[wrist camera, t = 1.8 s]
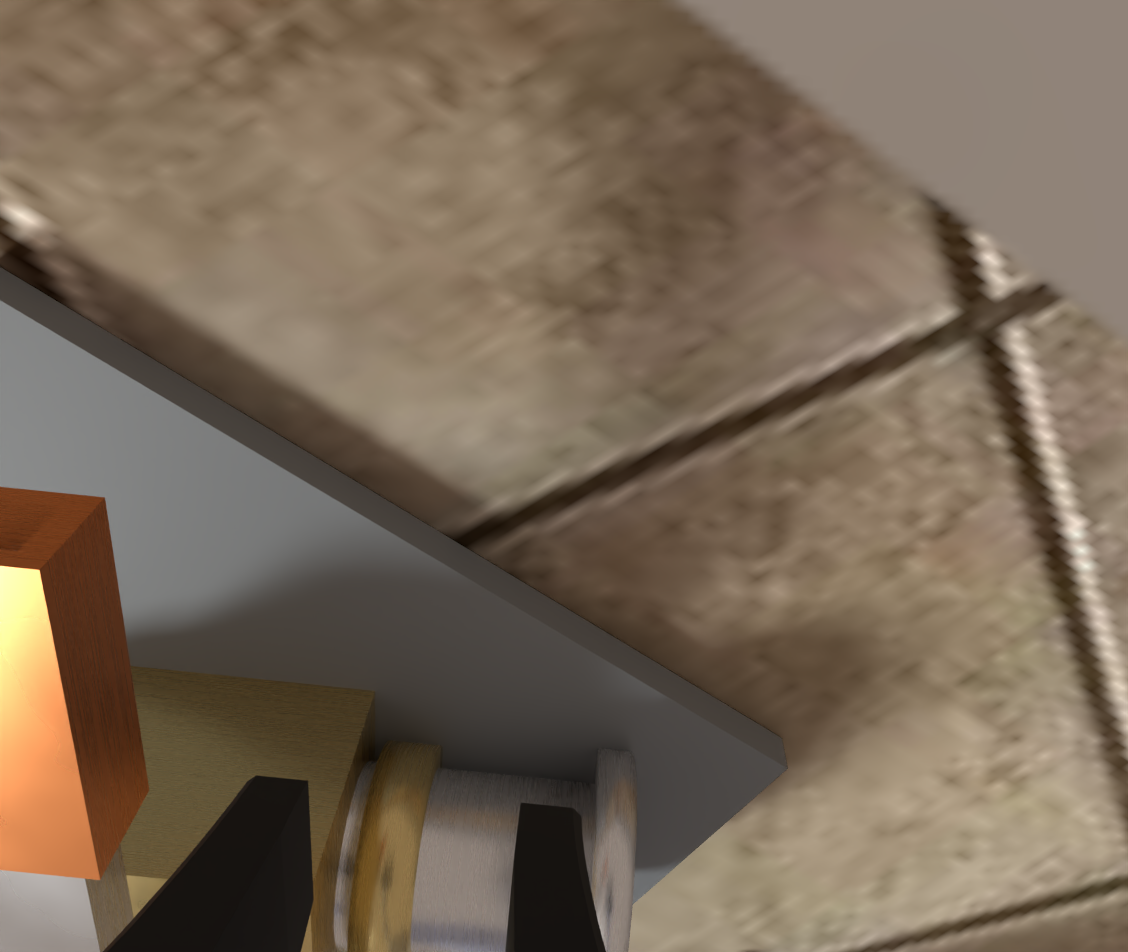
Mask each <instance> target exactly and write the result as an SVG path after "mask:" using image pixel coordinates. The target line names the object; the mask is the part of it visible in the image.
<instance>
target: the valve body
mask: <svg viewBox="0 0 1128 952" xmlns="http://www.w3.org/2000/svg"><path fill="white" fill-rule="evenodd" d="M131 672H132V679H133V685H134V692H135V699H136V705H137V712H138V718H139V725H140V731H141V738H142V745H143V751H144V758H145V764H146V771H147V778H148V784H149V792H148V794H147V795H146V797H145V799H144V801H143V803H142V805H141V806H140V808H139V810H138V812H137V814H136V816H135V817H134V819H133V821H132V823H131V825H130V826H129V828H128V830H127V832H126V834H125V836H124V837H123V839H122V841H121V849H122V854H123V860H124V866H125V871H126V877H127V882H128V888H129V894H130V899H131V905H132V911H133V916H134V917H135V916H136V915H137V914H138V913H139V911H140V910H141V909H142V908H143V907H144V906H145V905H146V904H147V902H148V901H149V900H150V899H151V898H152V897H153V896H154V895H155V893H156V892H157V891H158V890H159V889H160V888H161V887H162V886H163V885H164V883H165V882H166V881H167V880H168V879H169V878H170V877H171V875H172V874H173V873H174V872H175V871H176V870H177V868H178V867H179V866H180V865H181V864H182V862H183V861H184V860H185V859H186V858H187V857H188V855H189V854H190V853H191V852H192V851H193V849H194V848H195V847H196V846H197V845H198V843H199V842H200V841H201V840H202V838H203V837H204V836H205V835H206V834H207V832H208V831H209V830H210V829H211V827H212V826H213V825H214V824H215V822H216V821H217V820H218V819H219V817H220V816H221V815H222V814H223V812H224V811H225V810H226V808H227V807H228V806H229V805H230V803H231V802H232V801H233V799H234V798H235V797H236V796H237V794H238V793H239V792H240V790H241V789H242V788H243V786H244V785H245V784H246V782H247V781H249V780H250V779H252V778H253V777H255V776H256V775H258V776H267V777H277V778H287V779H297V780H306V781H308V788H309V810H310V831H311V852H312V874H313V895H314V900H313V904H312V909H311V913H310V917H309V921H308V925H307V929H306V933H305V937H304V941H303V945H302V949H301V952H505V948H506V937H507V926H508V916H509V905H510V894H511V883H512V873H513V862H514V853H515V844H516V836H517V828H518V820H519V812H520V804H521V803H531V804H540V805H550V806H560V807H569V808H574V809H575V810H576V811H577V812H578V813H579V814H580V815H581V818H582V836H583V844H584V853H585V859H586V866H587V871H588V877H589V882H590V887H591V892H592V896H593V901H594V905H595V910H596V915H597V919H598V923H599V927H600V931H601V935H602V939H603V942H604V946H605V949H606V952H628V947H629V937H630V927H631V916H632V904H633V891H634V876H635V858H636V834H637V776H636V763H635V757H634V754H633V752H631V751H622V750H612V749H602V748H597V754H596V761H595V768H594V775H593V782H592V784H591V783H582V782H572V781H562V780H552V779H543V778H533V777H523V776H513V775H504V774H494V773H484V772H474V771H465V770H455V769H445V768H442V756H443V746H442V745H432V744H422V743H412V742H403V741H393V740H389V741H387V742H386V744H385V745H384V747H383V749H382V751H381V753H380V756H379V758H378V761H375V691H371V690H362V689H352V688H342V687H332V686H323V685H313V684H303V683H293V682H283V681H274V680H264V679H254V678H244V677H235V676H225V675H215V674H205V673H196V672H186V671H176V670H166V669H157V668H147V667H137V666H131Z"/></svg>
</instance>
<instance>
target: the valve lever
mask: <svg viewBox="0 0 1128 952" xmlns="http://www.w3.org/2000/svg"><path fill="white" fill-rule="evenodd" d="M148 792H149V784H148V778H147V771H146V764H145V758H144V751H143V745H142V738H141V731H140V725H139V718H138V712H137V705H136V699H135V692H134V685H133V679H132V672H131V666H130V659H129V652H128V646H127V639H126V633H125V626H124V619H123V613H122V606H121V600H120V593H119V587H118V580H117V573H116V567H115V560H114V554H113V547H112V540H111V534H110V527H109V521H108V514H107V507H106V501H105V497H96V496H87V495H77V494H67V493H57V492H47V491H38V490H28V489H18V488H8V487H0V952H103V951H104V949H105V948H106V947H107V946H108V945H109V944H110V943H111V942H112V941H113V940H114V939H115V938H116V937H117V936H118V935H119V934H120V933H121V932H122V930H123V929H124V928H125V927H126V926H127V925H128V924H129V923H130V922H131V920H132V919H133V918H134V916H133V911H132V905H131V899H130V894H129V888H128V882H127V877H126V871H125V866H124V860H123V854H122V849H121V841H122V839H123V837H124V836H125V834H126V832H127V830H128V828H129V826H130V825H131V823H132V821H133V819H134V817H135V816H136V814H137V812H138V810H139V808H140V806H141V805H142V803H143V801H144V799H145V797H146V795H147V794H148Z"/></svg>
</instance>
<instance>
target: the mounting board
mask: <svg viewBox="0 0 1128 952" xmlns="http://www.w3.org/2000/svg"><path fill="white" fill-rule="evenodd" d="M0 487H8V488H18V489H28V490H38V491H47V492H57V493H67V494H77V495H87V496H96V497H105V501H106V507H107V514H108V521H109V527H110V534H111V540H112V547H113V554H114V560H115V567H116V573H117V580H118V587H119V593H120V600H121V606H122V613H123V619H124V626H125V633H126V639H127V646H128V652H129V659H130V666H137V667H147V668H157V669H166V670H176V671H186V672H196V673H205V674H215V675H225V676H235V677H244V678H254V679H264V680H274V681H283V682H293V683H303V684H313V685H323V686H332V687H342V688H352V689H362V690H371V691H375V761H378V758H379V756H380V753H381V751H382V749H383V747H384V745H385V744H386V742H387V741H389V740H393V741H403V742H412V743H422V744H432V745H442V746H443V756H442V768H445V769H455V770H465V771H474V772H484V773H494V774H504V775H513V776H523V777H533V778H543V779H552V780H562V781H572V782H582V783H591V784H592V782H593V775H594V768H595V761H596V754H597V748H602V749H612V750H622V751H631V752H633V754H634V757H635V763H636V776H637V834H636V858H635V876H634V891H633V904H634V903H635V902H636V901H637V900H638V899H639V898H641V897H642V896H643V895H644V894H645V893H646V892H647V891H649V890H650V889H651V888H652V887H653V886H654V885H655V884H657V883H658V882H659V881H660V880H661V879H662V878H663V877H665V876H666V875H667V874H668V873H669V872H670V871H671V870H673V869H674V868H675V867H676V866H677V865H678V864H679V863H680V862H682V861H683V860H684V859H685V858H686V857H687V856H688V855H690V854H691V853H692V852H693V851H694V850H695V849H696V848H698V847H699V846H700V845H701V844H702V843H703V842H704V841H706V840H707V839H708V838H709V837H710V836H711V835H712V834H714V833H715V832H716V831H717V830H718V829H719V828H720V827H722V826H723V825H724V824H725V823H726V822H727V821H728V820H730V819H731V818H732V817H733V816H734V815H735V814H736V813H738V812H739V811H740V810H741V809H742V808H743V807H744V806H746V805H747V804H748V803H749V802H750V801H751V800H752V799H754V798H755V797H756V796H757V795H758V794H759V793H760V792H762V791H763V790H764V789H765V788H766V787H767V786H768V785H770V784H771V783H772V782H773V781H774V780H775V779H776V778H778V777H779V776H780V775H781V774H782V773H783V772H784V771H786V770H787V769H788V767H787V762H786V757H785V752H784V747H783V742H782V738H781V737H779V736H777V735H776V734H774V733H772V732H771V731H769V730H767V729H766V728H764V727H762V726H761V725H759V724H757V723H756V722H754V721H752V720H751V719H749V718H747V717H746V716H744V715H742V714H741V713H739V712H737V711H736V710H734V709H732V708H731V707H729V706H727V705H726V704H724V703H723V702H721V701H719V700H718V699H716V698H714V697H713V696H711V695H709V694H708V693H706V692H704V691H703V690H701V689H699V688H698V687H696V686H694V685H693V684H691V683H689V682H688V681H686V680H684V679H683V678H681V677H679V676H678V675H676V674H674V673H673V672H671V671H669V670H668V669H666V668H664V667H663V666H661V665H659V664H658V663H656V662H655V661H653V660H651V659H650V658H648V657H646V656H645V655H643V654H641V653H640V652H638V651H636V650H635V649H633V648H631V647H630V646H628V645H626V644H625V643H623V642H621V641H620V640H618V639H616V638H615V637H613V636H611V635H610V634H608V633H606V632H605V631H603V630H601V629H600V628H598V627H596V626H595V625H593V624H591V623H590V622H588V621H587V620H585V619H583V618H582V617H580V616H578V615H577V614H575V613H573V612H572V611H570V610H568V609H567V608H565V607H563V606H562V605H560V604H558V603H557V602H555V601H553V600H552V599H550V598H548V597H547V596H545V595H543V594H542V593H540V592H538V591H537V590H535V589H533V588H532V587H530V586H528V585H527V584H525V583H523V582H522V581H520V580H519V579H517V578H515V577H514V576H512V575H510V574H509V573H507V572H505V571H504V570H502V569H500V568H499V567H497V566H495V565H494V564H492V563H490V562H489V561H487V560H485V559H484V558H482V557H480V556H479V555H477V554H475V553H474V552H472V551H470V550H469V549H467V548H465V547H464V546H462V545H460V544H459V543H457V542H455V541H454V540H452V539H450V538H449V537H447V536H446V535H444V534H442V533H441V532H439V531H437V530H436V529H434V528H432V527H431V526H429V525H427V524H426V523H424V522H422V521H421V520H419V519H417V518H416V517H414V516H412V515H411V514H409V513H407V512H406V511H404V510H402V509H401V508H399V507H397V506H396V505H394V504H392V503H391V502H389V501H387V500H386V499H384V498H382V497H381V496H379V495H378V494H376V493H374V492H373V491H371V490H369V489H368V488H366V487H364V486H363V485H361V484H359V483H358V482H356V481H354V480H353V479H351V478H349V477H348V476H346V475H344V474H343V473H341V472H339V471H338V470H336V469H334V468H333V467H331V466H329V465H328V464H326V463H324V462H323V461H321V460H319V459H318V458H316V457H314V456H313V455H311V454H310V453H308V452H306V451H305V450H303V449H301V448H300V447H298V446H296V445H295V444H293V443H291V442H290V441H288V440H286V439H285V438H283V437H281V436H280V435H278V434H276V433H275V432H273V431H271V430H270V429H268V428H266V427H265V426H263V425H261V424H260V423H258V422H256V421H255V420H253V419H251V418H250V417H248V416H246V415H245V414H243V413H242V412H240V411H238V410H237V409H235V408H233V407H232V406H230V405H228V404H227V403H225V402H223V401H222V400H220V399H218V398H217V397H215V396H213V395H212V394H210V393H208V392H207V391H205V390H203V389H202V388H200V387H198V386H197V385H195V384H193V383H192V382H190V381H188V380H187V379H185V378H183V377H182V376H180V375H178V374H177V373H175V372H174V371H172V370H170V369H169V368H167V367H165V366H164V365H162V364H160V363H159V362H157V361H155V360H154V359H152V358H150V357H149V356H147V355H145V354H144V353H142V352H140V351H139V350H137V349H135V348H134V347H132V346H130V345H129V344H127V343H125V342H124V341H122V340H120V339H119V338H117V337H115V336H114V335H112V334H110V333H109V332H107V331H106V330H104V329H102V328H101V327H99V326H97V325H96V324H94V323H92V322H91V321H89V320H87V319H86V318H84V317H82V316H81V315H79V314H77V313H76V312H74V311H72V310H71V309H69V308H67V307H66V306H64V305H62V304H61V303H59V302H57V301H56V300H54V299H52V298H51V297H49V296H47V295H46V294H44V293H42V292H41V291H39V290H37V289H36V288H34V287H33V286H31V285H29V284H28V283H26V282H24V281H23V280H21V279H19V278H18V277H16V276H14V275H13V274H11V273H9V272H8V271H6V270H4V269H3V268H1V267H0ZM633 904H632V905H633Z"/></svg>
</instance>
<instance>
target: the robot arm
mask: <svg viewBox="0 0 1128 952" xmlns="http://www.w3.org/2000/svg"><path fill="white" fill-rule="evenodd" d="M313 900H314V895H313V874H312V852H311V831H310V810H309V788H308V781H306V780H297V779H287V778H277V777H267V776H258V775H256V776H255V777H253V778H252V779H250V780H249V781H247V782H246V784H245V785H244V786H243V788H242V789H241V790H240V792H239V793H238V794H237V796H236V797H235V798H234V799H233V801H232V802H231V803H230V805H229V806H228V807H227V808H226V810H225V811H224V812H223V814H222V815H221V816H220V817H219V819H218V820H217V821H216V822H215V824H214V825H213V826H212V827H211V829H210V830H209V831H208V832H207V834H206V835H205V836H204V837H203V838H202V840H201V841H200V842H199V843H198V845H197V846H196V847H195V848H194V849H193V851H192V852H191V853H190V854H189V855H188V857H187V858H186V859H185V860H184V861H183V862H182V864H181V865H180V866H179V867H178V868H177V870H176V871H175V872H174V873H173V874H172V875H171V877H170V878H169V879H168V880H167V881H166V882H165V883H164V885H163V886H162V887H161V888H160V889H159V890H158V891H157V892H156V893H155V895H154V896H153V897H152V898H151V899H150V900H149V901H148V902H147V904H146V905H145V906H144V907H143V908H142V909H141V910H140V911H139V913H138V914H137V915H136V916H135V917H134V918H133V919H132V920H131V922H130V923H129V924H128V925H127V926H126V927H125V928H124V929H123V930H122V932H121V933H120V934H119V935H118V936H117V937H116V938H115V939H114V940H113V941H112V942H111V943H110V944H109V945H108V946H107V947H106V948H105V949H104V951H103V952H301V949H302V945H303V941H304V937H305V933H306V929H307V925H308V921H309V917H310V913H311V909H312V904H313ZM505 952H606V949H605V946H604V942H603V939H602V935H601V931H600V927H599V923H598V919H597V915H596V910H595V905H594V901H593V896H592V892H591V887H590V882H589V877H588V871H587V866H586V859H585V853H584V844H583V836H582V818H581V815H580V814H579V813H578V812H577V811H576V810H575V809H574V808H569V807H560V806H550V805H540V804H531V803H521V804H520V812H519V820H518V828H517V836H516V844H515V853H514V862H513V873H512V883H511V894H510V905H509V916H508V926H507V937H506V948H505Z"/></svg>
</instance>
